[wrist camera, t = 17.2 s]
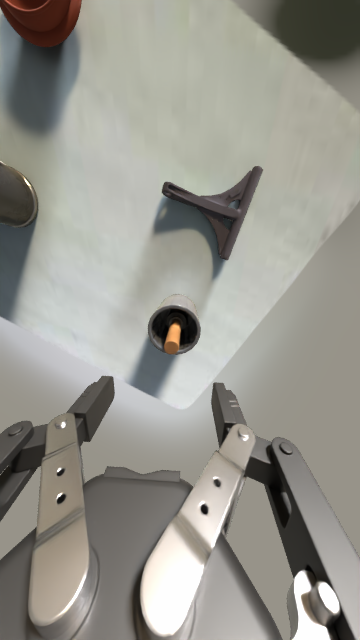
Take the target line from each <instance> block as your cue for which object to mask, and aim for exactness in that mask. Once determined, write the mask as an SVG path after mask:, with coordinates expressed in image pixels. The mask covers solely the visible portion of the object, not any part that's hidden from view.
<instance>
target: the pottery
mask: <svg viewBox="0 0 360 640" xmlns="http://www.w3.org/2000/svg"><path fill="white" fill-rule="evenodd" d="M81 1H82V0H0V7H1V9H2V11H3V13H4V15H5V17H6V18H7V20H8V22H9V23H10V24H11V26H12V27H13V28H14V29H15V31H16V32H17V33H18V34H19V35H20V36H21V37H23V38H24V39H25V40H27V41H28V42H30V43H32V44H34V45H37V46H41V47H52V46H55V45H58V44H60V43H61V42H63V41H64V40H65V39H66V38H67V37H68V36H69V35H70V33H71V32H72V30H73V29H74V27H75V25H76V22H77V20H78V17H79V13H80V8H81Z"/></svg>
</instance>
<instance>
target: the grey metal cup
mask: <svg viewBox="0 0 360 640" xmlns="http://www.w3.org/2000/svg"><path fill="white" fill-rule="evenodd" d="M171 308H177V309H181V310H184V311H186V313H187V323H186V326H185V328H184V329H183V330H181V332H180V342H179V350H178V352H177V353H175V355H178V354H182V353H186V352H187V351H189V350H191V349H192V348H193V347H194V346H195V345H196V344H197V342H198V340H199V338H200V332H201V327H200V323H199V319H198V315H197V310H196V307H195V304H194V303H193V301H192V300H191V299H190V298H188V297H187V296H185V295H181V294H174V295H171V296H168V297H167V298H166V299H164V300H163V302H162V303H161V304H160V306H159V307H158V308H157V310H156V311H155V312H154V314H153V315H152V317H151V318H150V321H149V324H148V335H149V338H150V340H151V342H152V343H153V344H154V346H155V347H156V348H158V349H159V350H160V351H162V352H164V353H166V352H165V350H164V344H165V341H166V337H167V334H168V331H169V328H168V326H167V324H166V320H167V317H168V314H169V312H170V309H171ZM167 354H168V353H167Z"/></svg>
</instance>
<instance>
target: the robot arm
mask: <svg viewBox="0 0 360 640" xmlns="http://www.w3.org/2000/svg"><path fill="white" fill-rule="evenodd" d="M37 211H38V200H37V196H36V193H35V190H34V188H33V186H32V185H31V183H30V182H29V180H28V179H27V178H26V177H25V176H24V175H23V174H21V173H20V172H19V171H17V170H15V169H13V168H12V167H9V166H7V165H5V164H3V163H2V162H1V161H0V223H3V224H6V225H8V226H12V227H18V228H21V227H26V226H28V225H30V224H31V223H32V222H33V221H34V219H35V218H36V215H37ZM114 393H115V392H114V381H113V377H112V376H102V377H101V378H100V379H99V381H98V382H94V383H93V384H91V385H90V386H88V387H87V388H86V390H85V391H84V393H82V394H81V396H80V397H79V398H78V399H77V400H76V402H75V403H74V404H73V405H72V406H71V408H70V409H69V410H68V411H67V412H66V413H64V414H61V415H59V416H57V417H55V418H54V419H52V420H51V422H49V424H45V425H41V426H36V427H33V425H32V423H31V422H30V421H21V422H18V423H16V424H13V425H12V426H10V427H8V428H7V429H6V430H4V431H3V432H2V433H1V434H0V474H1V473H2V471H4V472H3V473H2V474H1V475H0V521H1V520H2V519H3V517H4V516H5V514H6V513H7V511H8V510H9V508H10V507H11V505H12V504H13V503H14V501H15V500H16V498H17V497H18V495H19V494H20V492H21V491H22V490H23V488H24V487H25V485H26V484H27V482H28V481H29V479H30V478H31V477H32V475H33V474H34V472H35V471H36V469H37V468H38V467H39V466H41V477H40V490H39V504H38V518H37V527H36V528H35V529H34V530H33V531H32V532H31V533H29V534H28V535H27V536H26V537H25V538H24V539H23V540H22V541H21V542H20V543H18V544H17V545H16V546H15V547H14V548H13V549H12V550H11V551H10V552H9V553H8V554H6V555H5V556H4V557H3V558H2V559H1V560H0V640H282V637H281V635H280V633H279V630H278V628H277V626H276V624H275V622H274V620H273V618H272V616H271V614H270V613H269V611H268V609H267V607H266V606H265V604H264V603H263V601H262V599H261V597H260V596H259V594H258V593H257V591H256V589H255V587H254V586H253V584H252V582H251V580H250V579H249V577H248V576H247V574H246V572H245V570H244V569H243V567H242V565H241V564H240V562H239V560H238V559H237V557H236V555H235V554H234V552H233V550H232V548H231V547H230V545H229V543H228V542H227V540H226V536H227V533H228V531H229V528H230V525H231V522H232V519H233V515H234V512H235V509H236V506H237V503H238V500H239V497H240V495H241V492H242V489H243V486H244V483H245V480H246V477H249V478H252V479H254V480H256V481H258V482H261V483H263V484H264V486H265V489H266V492H267V495H268V499H269V501H270V505H271V508H272V511H273V514H274V517H275V521H276V524H277V527H278V530H279V534H280V537H281V540H282V543H283V546H284V549H285V552H286V556H287V559H288V562H289V565H290V568H291V572H292V575H293V578H294V581H293V583H292V585H291V587H290V589H289V591H288V594H287V609H288V614H289V620H290V627H291V637H290V640H360V557H359V556H358V554H357V552H356V550H355V549H354V547H353V545H352V543H351V542H350V540H349V538H348V536H347V534H346V533H345V531H344V529H343V528H342V526H341V524H340V522H339V521H338V519H337V517H336V515H335V513H334V512H333V510H332V508H331V506H330V505H329V503H328V501H327V499H326V497H325V496H324V494H323V492H322V491H321V489H320V487H319V485H318V483H317V482H316V480H315V478H314V476H313V474H312V473H311V471H310V469H309V467H308V466H307V464H306V462H305V460H304V459H303V457H302V455H301V453H300V452H299V450H298V449H297V447H296V446H295V445H294V444H293V443H291V442H290V441H288V440H287V439H284V438H280V437H277V438H274V439H273V440H272V442H270V441H268V440H265V439H262V438H260V437H258V436H256V435H255V434H254V432H253V431H252V430H251V429H250V428H249V427H248V426H247V425H246V422H245V419H244V417H243V414H242V412H241V409H240V407H239V404H238V402H237V399H236V396H235V395H234V394H233V393H232V391H231V390H226V389H225V386H224V384H223V383H213V391H212V400H211V404H212V411H213V416H214V421H215V426H216V432H217V437H218V442H219V448H220V449H219V450H218V451H215V452H214V453H213V455H212V457H211V458H210V460H209V462H208V463H207V465H206V467H205V469H204V470H203V472H202V474H201V476H200V477H199V479H198V481H197V482H196V484H195V485H194V487H193V486H192V485H190V484H189V483H188V482H186V481H185V480H183V479H180V471H169V470H167V471H166V470H161V471H156V472H152V473H147V474H139V473H137V472H134V471H132V470H129V469H127V468H124V467H108V466H107V468H106V470H105V473H104V474H101V475H99V476H96V477H94V478H92V479H91V480H89V481H87V482H86V483H85V478H84V470H83V463H82V455H81V448H80V446H81V445H82V443H83V441H84V442H90V441H91V439H92V437H93V435H94V434H95V432H96V430H97V428H98V426H99V425H100V423H101V421H102V419H103V417H104V415H105V414H106V412H107V410H108V408H109V407H110V405H111V403H112V401H113V399H114ZM8 465H9V466H8ZM7 466H8V467H7ZM6 467H7V468H6ZM5 468H6V469H5ZM4 469H5V470H4Z"/></svg>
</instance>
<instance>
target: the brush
mask: <svg viewBox="0 0 360 640" xmlns="http://www.w3.org/2000/svg"><path fill="white" fill-rule="evenodd" d="M186 323H187V313H186V311H184V310H181V309H177V308H171V309H170V312H169V314H168V317H167V320H166V324H167V326H168V328H169V331H168V334H167V337H166V341H165V344H164V350H165V352H166V353H168V354H175V353H177V352H178V350H179V342H180V332H181V330H183V329H184V328H185V326H186Z"/></svg>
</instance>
